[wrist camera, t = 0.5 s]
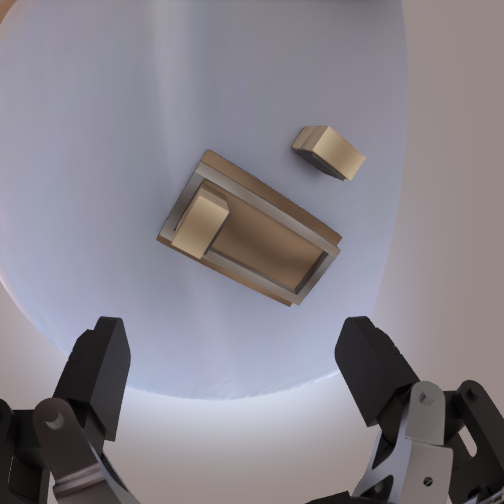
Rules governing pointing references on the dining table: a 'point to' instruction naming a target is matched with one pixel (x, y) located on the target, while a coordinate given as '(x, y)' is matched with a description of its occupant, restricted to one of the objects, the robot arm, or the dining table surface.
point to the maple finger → (328, 152)
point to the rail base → (249, 232)
